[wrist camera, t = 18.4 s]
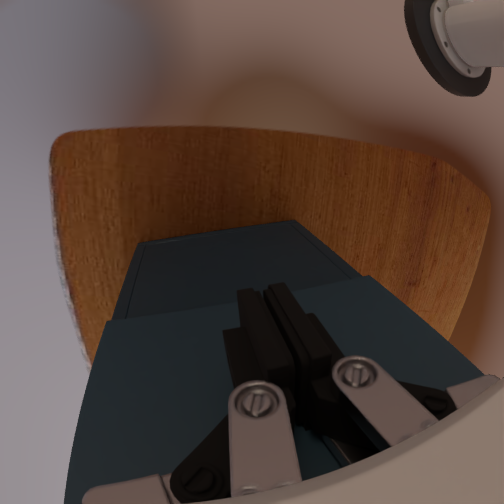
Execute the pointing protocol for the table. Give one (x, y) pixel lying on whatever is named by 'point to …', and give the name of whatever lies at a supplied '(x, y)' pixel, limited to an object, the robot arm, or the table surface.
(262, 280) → the cool box
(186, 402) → the lid
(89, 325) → the table surface
